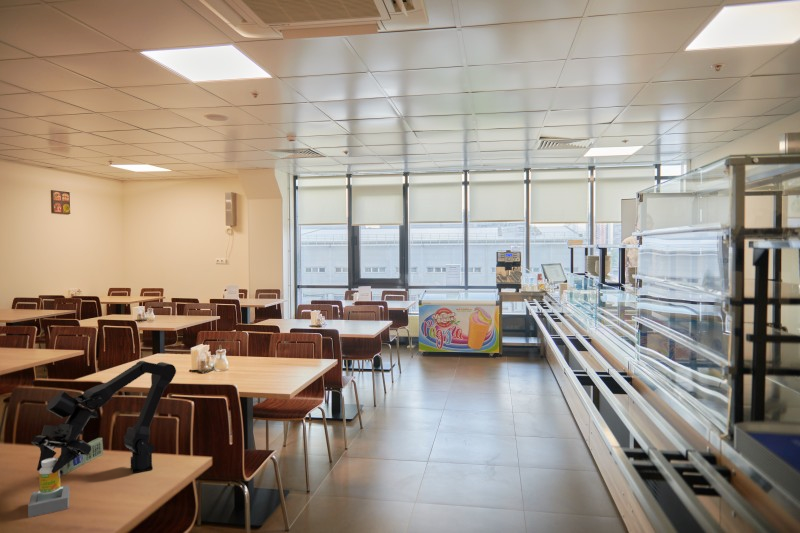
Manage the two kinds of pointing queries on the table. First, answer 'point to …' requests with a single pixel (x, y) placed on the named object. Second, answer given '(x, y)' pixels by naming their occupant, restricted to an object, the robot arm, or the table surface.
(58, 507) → the dock
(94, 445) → the handheld radio
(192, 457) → the table surface
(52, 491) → the supplement bottle
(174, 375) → the robot arm
